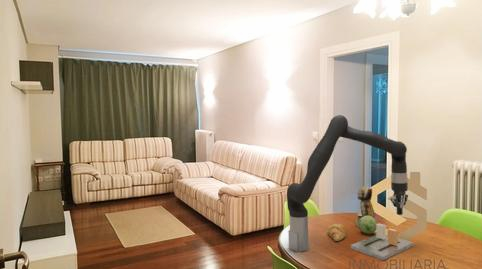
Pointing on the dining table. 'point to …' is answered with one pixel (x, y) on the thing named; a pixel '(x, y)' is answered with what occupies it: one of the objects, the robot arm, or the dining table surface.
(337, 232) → the croissant
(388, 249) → the fader panel
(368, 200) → the plush toy
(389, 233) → the orange fader
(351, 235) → the dining table surface
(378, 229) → the cream fader
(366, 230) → the decorative ball
